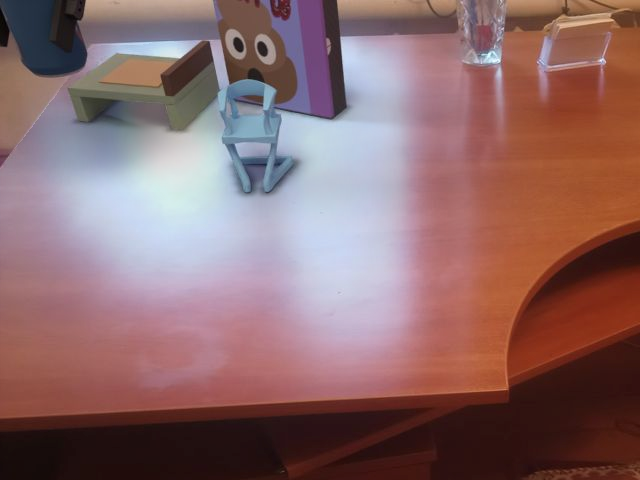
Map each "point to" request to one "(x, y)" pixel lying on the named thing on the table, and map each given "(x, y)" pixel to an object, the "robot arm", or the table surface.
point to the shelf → (150, 84)
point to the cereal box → (285, 52)
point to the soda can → (41, 39)
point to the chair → (253, 131)
